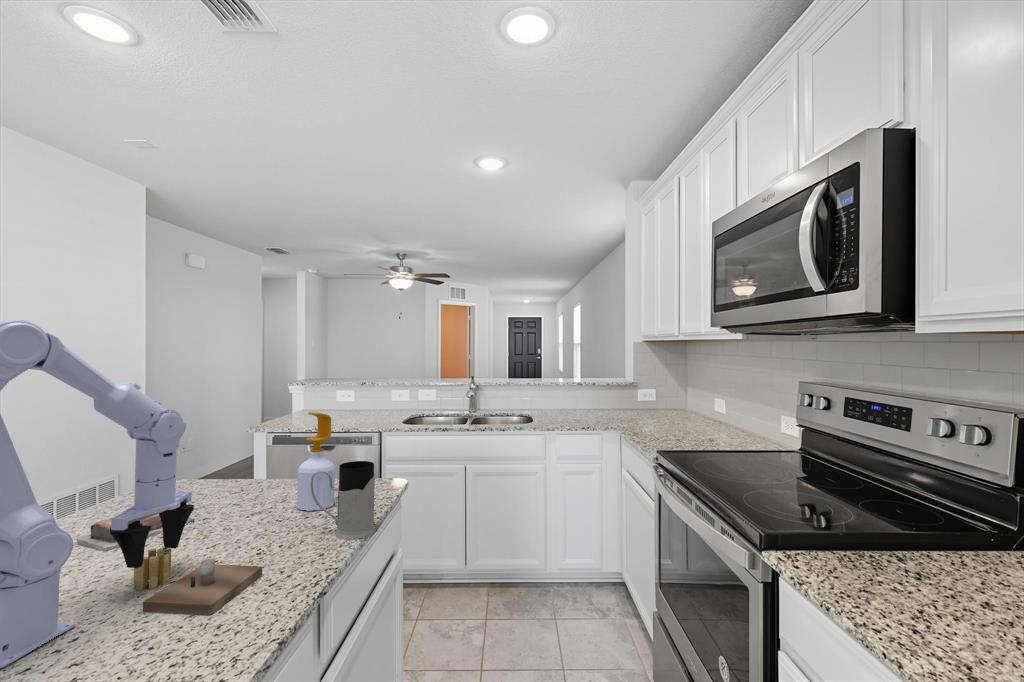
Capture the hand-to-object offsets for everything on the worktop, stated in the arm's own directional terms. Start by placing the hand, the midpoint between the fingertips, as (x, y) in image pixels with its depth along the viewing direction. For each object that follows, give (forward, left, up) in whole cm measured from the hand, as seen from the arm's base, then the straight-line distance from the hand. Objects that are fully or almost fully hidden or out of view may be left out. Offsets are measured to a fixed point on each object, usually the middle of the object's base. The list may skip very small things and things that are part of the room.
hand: (153, 556), depth 81 cm
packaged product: (+21, +22, -5) cm, 30 cm away
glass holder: (+25, -23, -5) cm, 34 cm away
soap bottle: (+42, -8, -5) cm, 43 cm away
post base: (-2, -11, -4) cm, 12 cm away
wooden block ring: (0, 0, -4) cm, 4 cm away
